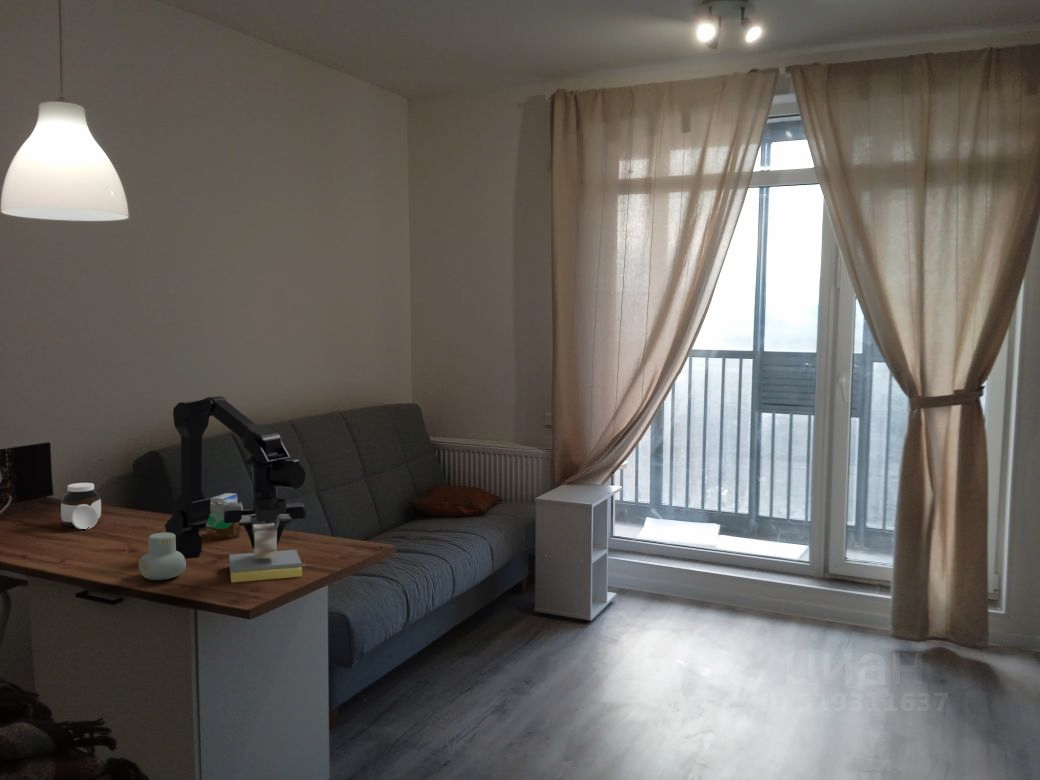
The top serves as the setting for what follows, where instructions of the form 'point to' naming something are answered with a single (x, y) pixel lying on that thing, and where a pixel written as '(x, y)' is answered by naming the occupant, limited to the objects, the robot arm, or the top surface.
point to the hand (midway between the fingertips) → (264, 547)
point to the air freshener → (162, 558)
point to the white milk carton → (265, 541)
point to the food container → (221, 522)
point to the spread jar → (81, 506)
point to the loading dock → (264, 566)
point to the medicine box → (225, 498)
